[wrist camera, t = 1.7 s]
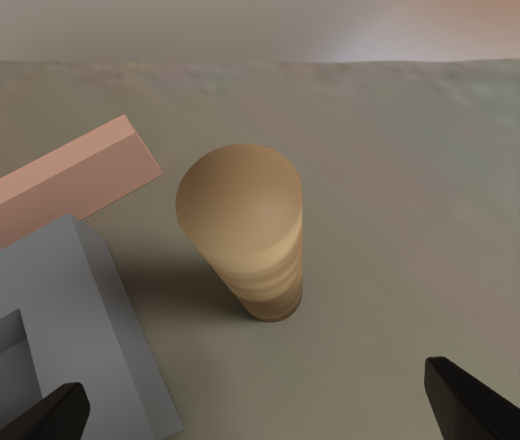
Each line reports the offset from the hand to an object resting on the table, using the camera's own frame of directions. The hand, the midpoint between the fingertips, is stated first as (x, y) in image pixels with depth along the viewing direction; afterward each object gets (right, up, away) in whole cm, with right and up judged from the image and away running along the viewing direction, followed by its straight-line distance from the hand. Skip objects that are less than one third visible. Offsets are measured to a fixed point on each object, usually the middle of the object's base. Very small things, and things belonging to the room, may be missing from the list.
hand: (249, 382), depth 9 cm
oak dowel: (+1, 0, +13) cm, 13 cm away
